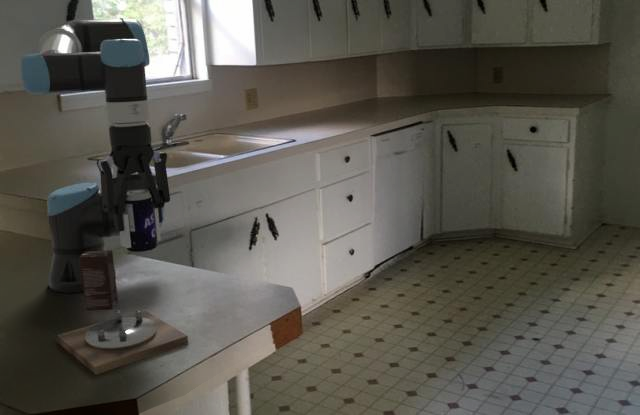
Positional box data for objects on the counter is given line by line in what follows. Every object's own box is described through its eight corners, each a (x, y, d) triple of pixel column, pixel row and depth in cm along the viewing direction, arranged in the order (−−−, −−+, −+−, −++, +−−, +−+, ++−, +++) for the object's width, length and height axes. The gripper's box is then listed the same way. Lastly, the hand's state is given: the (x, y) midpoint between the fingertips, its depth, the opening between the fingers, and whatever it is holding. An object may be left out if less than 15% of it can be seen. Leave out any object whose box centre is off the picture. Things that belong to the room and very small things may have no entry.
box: (118, 301, 150) (113, 249, 147) (112, 309, 146) (106, 255, 143) (91, 302, 150) (85, 250, 147) (84, 310, 146) (78, 256, 143)
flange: (74, 335, 129) (72, 320, 129) (138, 316, 138) (136, 302, 137) (102, 357, 120) (101, 341, 119) (169, 335, 128) (167, 320, 127)
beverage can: (150, 256, 130) (144, 194, 127) (122, 255, 131) (115, 194, 128) (161, 247, 135) (156, 188, 133) (134, 247, 136) (128, 188, 134)
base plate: (57, 342, 130) (56, 335, 130) (144, 316, 141) (143, 309, 141) (95, 374, 117) (94, 366, 116) (188, 343, 128) (187, 335, 128)
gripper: (90, 130, 119) (104, 257, 124) (183, 120, 131) (192, 236, 136) (72, 127, 124) (87, 249, 129) (163, 118, 136) (173, 230, 141)
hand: (141, 242), depth 133 cm, fingers closed on beverage can, 6 cm apart
